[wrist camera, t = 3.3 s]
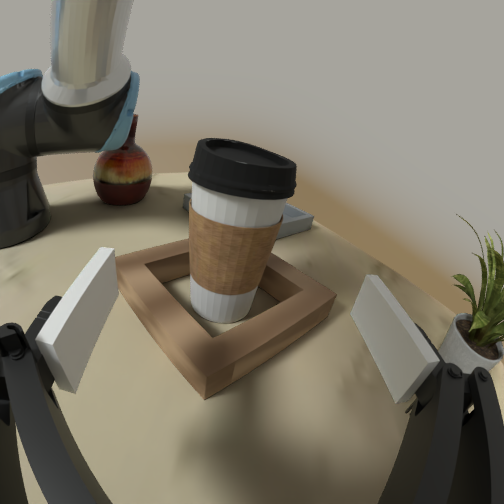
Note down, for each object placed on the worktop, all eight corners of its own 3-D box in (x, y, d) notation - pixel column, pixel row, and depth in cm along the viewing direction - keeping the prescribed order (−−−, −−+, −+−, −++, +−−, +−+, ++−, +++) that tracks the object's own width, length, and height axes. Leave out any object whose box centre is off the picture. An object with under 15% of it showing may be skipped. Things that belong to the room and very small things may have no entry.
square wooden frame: (114, 282, 27) (111, 257, 25) (228, 248, 37) (232, 228, 36) (204, 399, 18) (206, 377, 16) (327, 316, 28) (337, 294, 27)
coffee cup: (215, 268, 32) (236, 137, 25) (277, 303, 29) (318, 161, 22) (160, 299, 26) (168, 139, 19) (228, 349, 22) (266, 166, 15)
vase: (159, 193, 52) (167, 115, 45) (135, 213, 42) (141, 117, 35) (112, 186, 52) (116, 113, 44) (82, 204, 42) (83, 116, 35)
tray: (182, 207, 47) (184, 193, 46) (248, 197, 58) (250, 186, 57) (244, 248, 38) (248, 232, 37) (310, 229, 49) (314, 216, 48)
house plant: (356, 372, 22) (444, 196, 14) (409, 316, 30) (464, 195, 23) (464, 455, 13) (596, 304, 5) (489, 374, 22) (561, 258, 14)
